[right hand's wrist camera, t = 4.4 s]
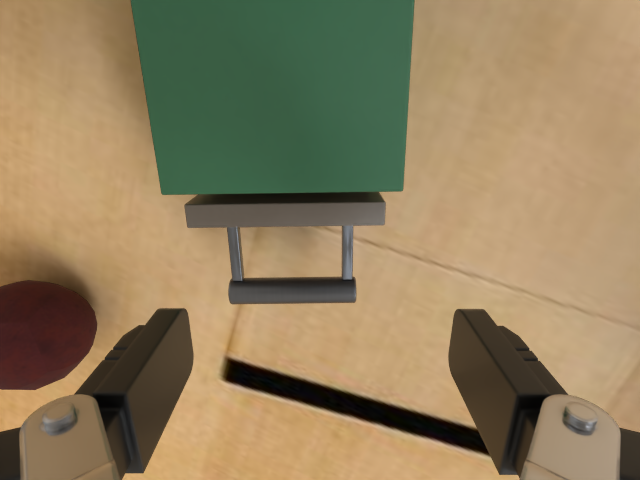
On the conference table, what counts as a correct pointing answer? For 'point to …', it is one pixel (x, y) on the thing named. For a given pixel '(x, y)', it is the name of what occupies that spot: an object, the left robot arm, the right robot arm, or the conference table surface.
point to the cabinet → (276, 93)
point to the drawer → (285, 213)
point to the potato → (42, 333)
